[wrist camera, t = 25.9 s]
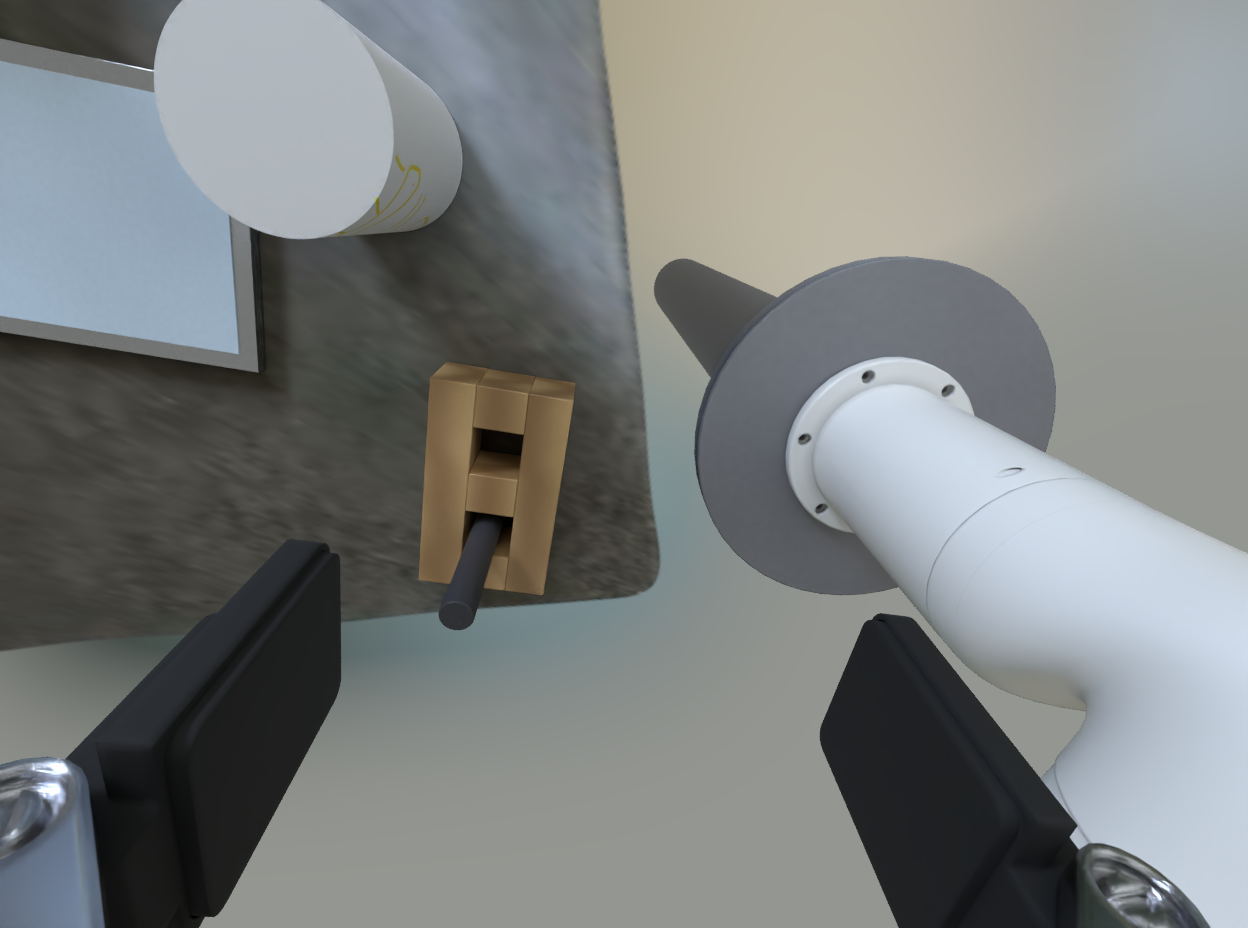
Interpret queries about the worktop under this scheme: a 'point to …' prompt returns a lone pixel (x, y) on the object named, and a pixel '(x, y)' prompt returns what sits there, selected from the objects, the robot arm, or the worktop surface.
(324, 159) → the cup
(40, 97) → the tablet
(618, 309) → the worktop surface
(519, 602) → the worktop surface
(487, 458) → the holder
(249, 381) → the worktop surface
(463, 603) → the stylus
